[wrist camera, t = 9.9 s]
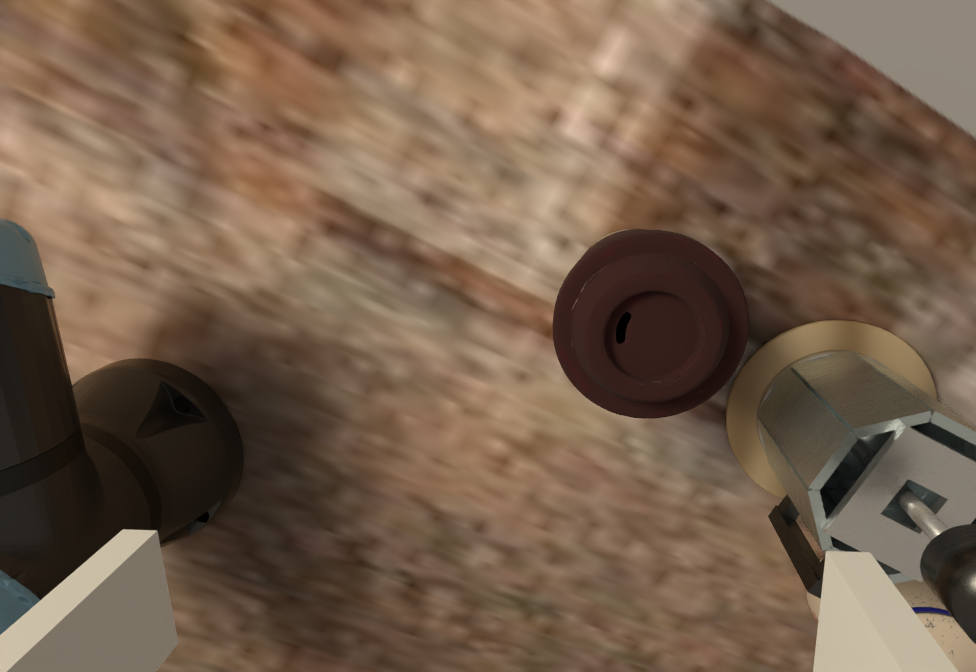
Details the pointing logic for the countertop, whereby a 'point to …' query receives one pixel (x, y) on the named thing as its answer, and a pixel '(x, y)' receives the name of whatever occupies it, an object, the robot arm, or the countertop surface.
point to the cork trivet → (787, 351)
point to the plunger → (951, 552)
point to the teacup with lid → (930, 623)
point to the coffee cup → (650, 323)
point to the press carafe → (902, 460)
